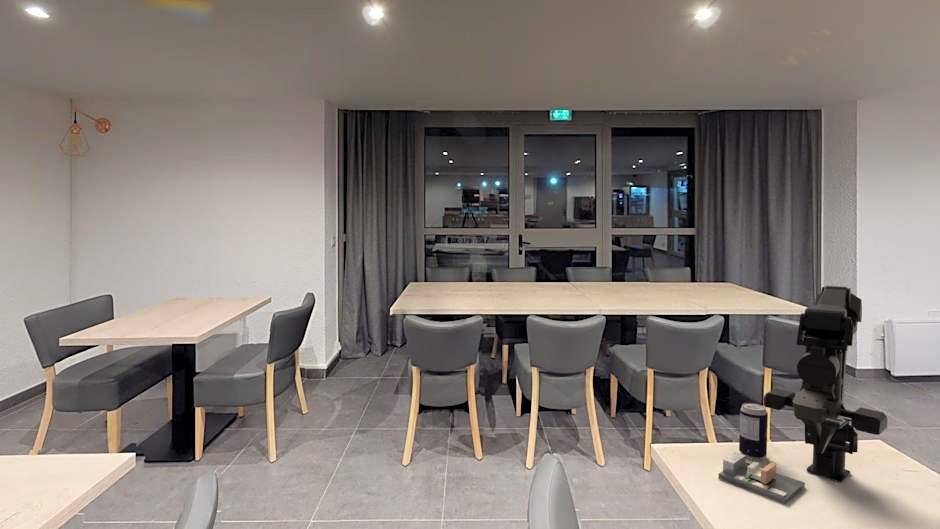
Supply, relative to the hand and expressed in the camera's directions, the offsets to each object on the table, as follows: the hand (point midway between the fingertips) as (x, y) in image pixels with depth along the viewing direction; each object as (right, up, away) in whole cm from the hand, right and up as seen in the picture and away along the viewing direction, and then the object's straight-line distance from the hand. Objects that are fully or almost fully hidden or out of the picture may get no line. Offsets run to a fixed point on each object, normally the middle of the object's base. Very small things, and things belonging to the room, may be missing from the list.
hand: (820, 452), depth 94 cm
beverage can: (-1, -9, +22) cm, 23 cm away
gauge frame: (-6, -10, +9) cm, 15 cm away
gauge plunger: (-7, -9, +8) cm, 14 cm away
